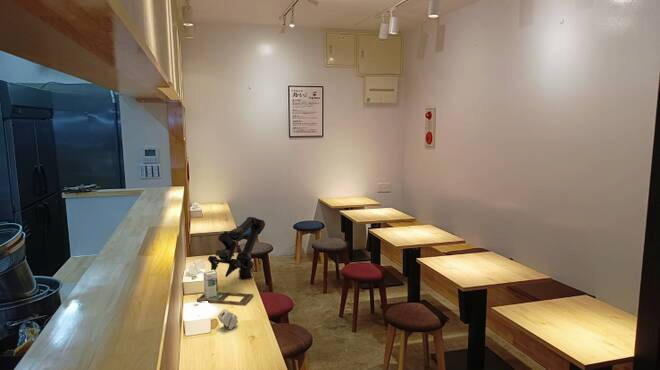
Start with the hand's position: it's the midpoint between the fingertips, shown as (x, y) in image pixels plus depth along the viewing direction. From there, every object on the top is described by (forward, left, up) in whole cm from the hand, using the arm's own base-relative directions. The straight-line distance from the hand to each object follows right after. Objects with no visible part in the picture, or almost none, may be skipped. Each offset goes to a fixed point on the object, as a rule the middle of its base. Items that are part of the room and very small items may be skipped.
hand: (218, 275), depth 240 cm
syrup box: (+5, +5, -10) cm, 12 cm away
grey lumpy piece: (+3, +44, -10) cm, 45 cm away
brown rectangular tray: (-2, +10, -10) cm, 14 cm away
